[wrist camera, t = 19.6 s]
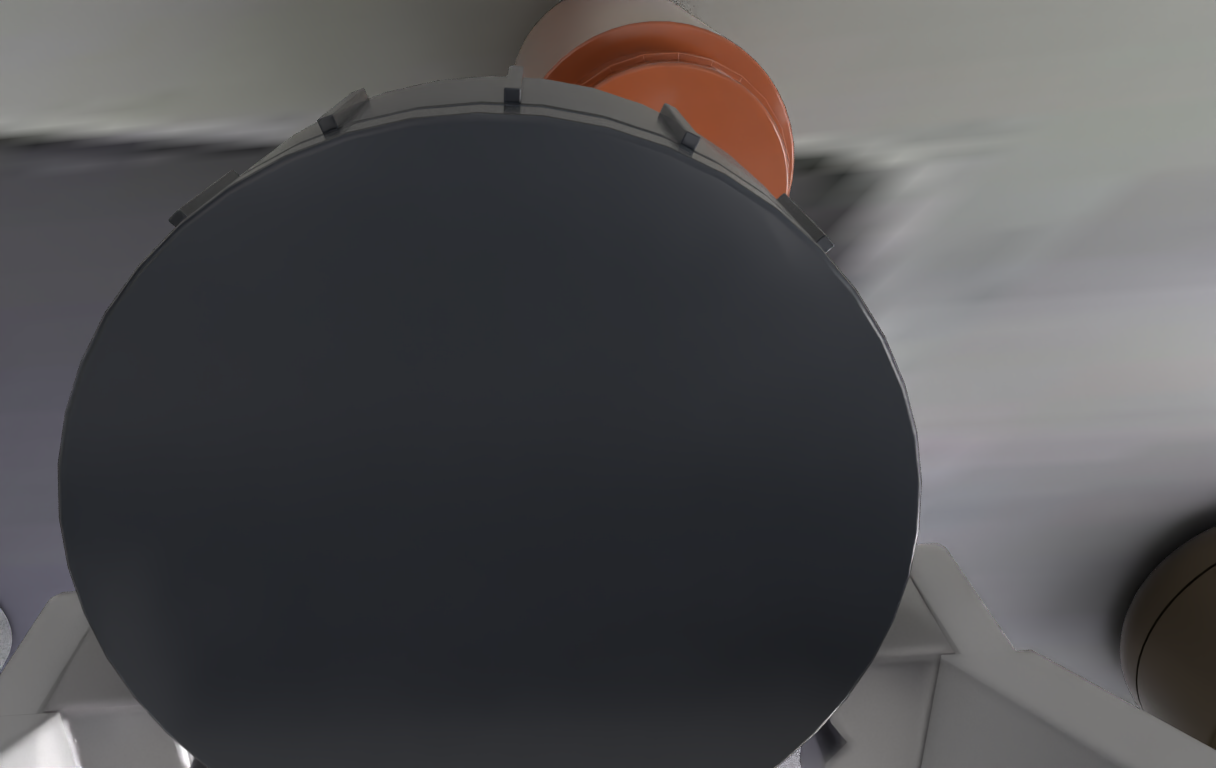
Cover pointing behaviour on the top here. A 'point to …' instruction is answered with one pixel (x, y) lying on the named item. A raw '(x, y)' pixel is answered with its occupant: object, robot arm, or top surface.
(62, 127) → the top surface
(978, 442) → the top surface
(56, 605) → the robot arm
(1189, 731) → the lamp
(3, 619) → the planter
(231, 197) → the jar lid
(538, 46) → the jar
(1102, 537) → the top surface
